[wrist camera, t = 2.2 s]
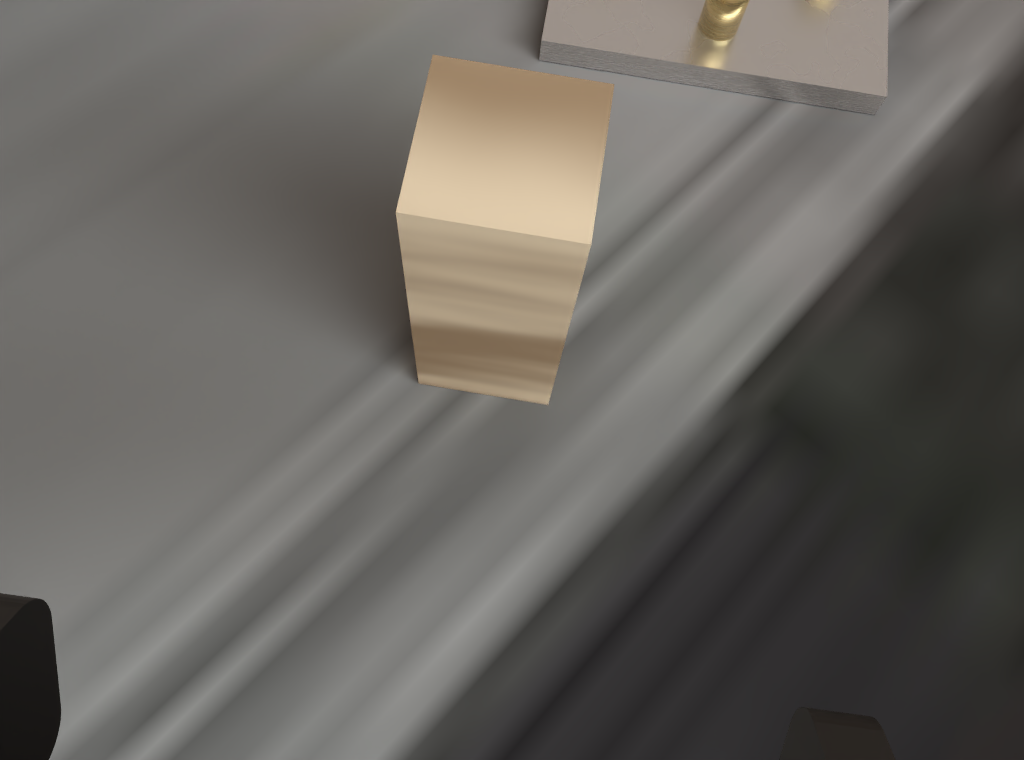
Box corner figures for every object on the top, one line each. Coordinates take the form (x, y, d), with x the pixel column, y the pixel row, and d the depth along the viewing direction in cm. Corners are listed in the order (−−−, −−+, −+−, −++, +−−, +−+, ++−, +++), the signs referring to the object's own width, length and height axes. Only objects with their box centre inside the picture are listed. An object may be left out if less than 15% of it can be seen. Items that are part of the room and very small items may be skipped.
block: (547, 404, 28) (590, 244, 18) (418, 383, 28) (395, 212, 18) (565, 288, 29) (614, 84, 20) (442, 268, 29) (432, 55, 20)
